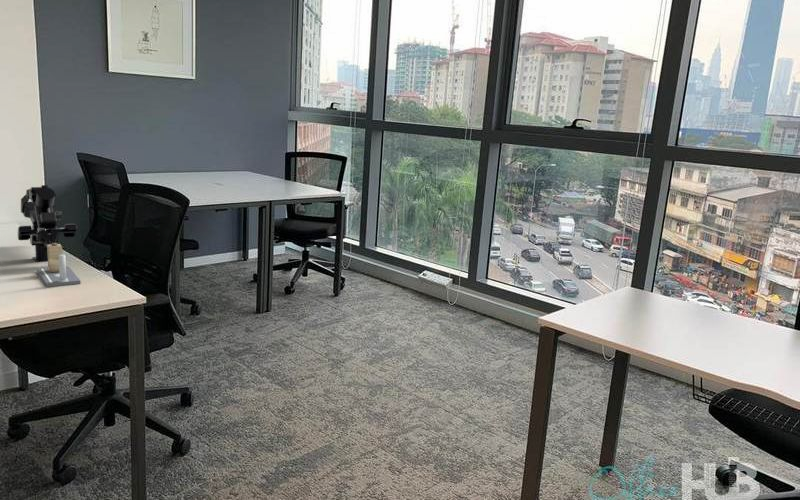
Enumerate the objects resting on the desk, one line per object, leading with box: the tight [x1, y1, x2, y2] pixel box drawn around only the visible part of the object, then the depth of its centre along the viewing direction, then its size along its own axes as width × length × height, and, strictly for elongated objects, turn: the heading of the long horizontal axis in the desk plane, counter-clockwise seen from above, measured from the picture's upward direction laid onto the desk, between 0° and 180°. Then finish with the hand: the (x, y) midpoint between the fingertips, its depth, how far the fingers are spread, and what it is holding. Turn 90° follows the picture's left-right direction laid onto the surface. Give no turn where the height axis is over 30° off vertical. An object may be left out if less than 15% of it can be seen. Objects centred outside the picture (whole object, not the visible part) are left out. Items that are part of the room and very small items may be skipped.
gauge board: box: [36, 253, 81, 288], centre depth 211 cm, size 20×10×10 cm, turn 38°
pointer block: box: [47, 243, 63, 272], centre depth 215 cm, size 4×4×10 cm
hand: (51, 251), depth 219 cm, fingers closed
